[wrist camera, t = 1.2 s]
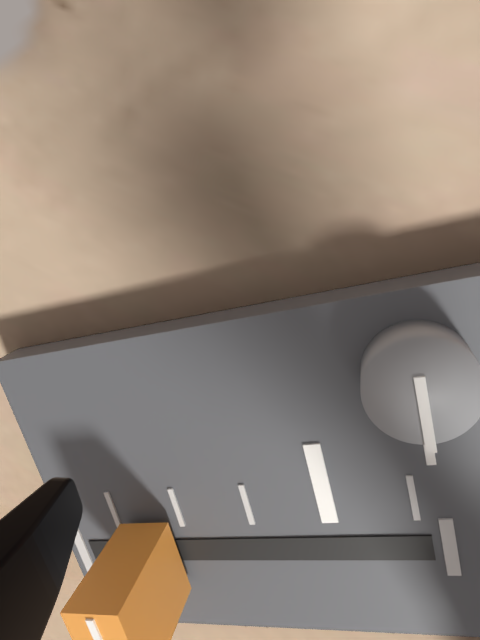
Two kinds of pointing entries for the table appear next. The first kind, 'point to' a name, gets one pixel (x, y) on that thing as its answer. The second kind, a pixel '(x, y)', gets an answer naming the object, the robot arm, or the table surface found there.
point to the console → (283, 451)
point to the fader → (131, 588)
